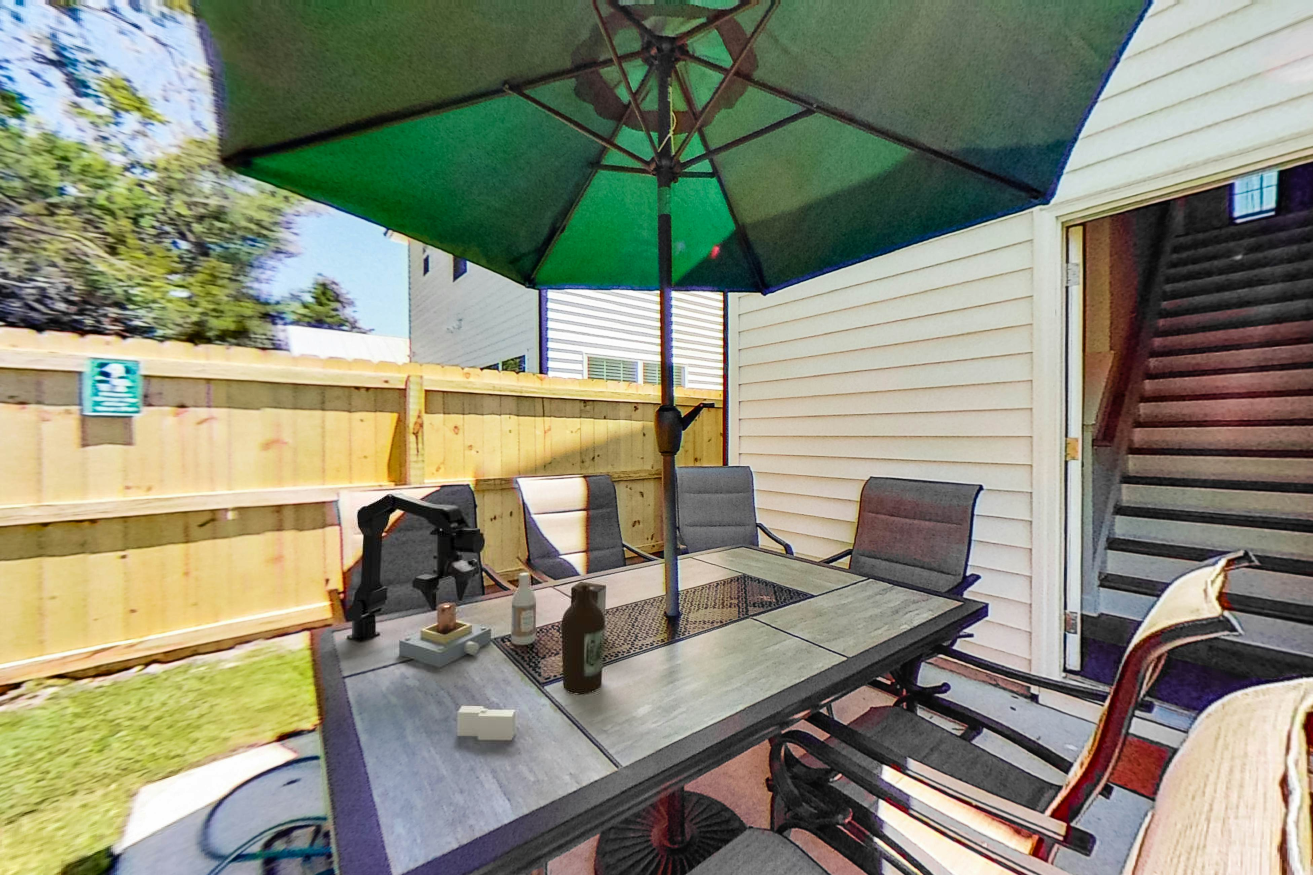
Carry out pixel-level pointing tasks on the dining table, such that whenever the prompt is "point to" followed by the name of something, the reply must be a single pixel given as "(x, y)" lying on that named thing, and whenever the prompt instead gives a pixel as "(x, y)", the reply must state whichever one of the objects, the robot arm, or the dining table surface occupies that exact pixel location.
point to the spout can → (446, 618)
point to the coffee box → (593, 596)
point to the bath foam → (523, 613)
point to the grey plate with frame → (444, 643)
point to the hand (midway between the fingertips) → (447, 605)
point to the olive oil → (582, 643)
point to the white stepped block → (486, 723)
